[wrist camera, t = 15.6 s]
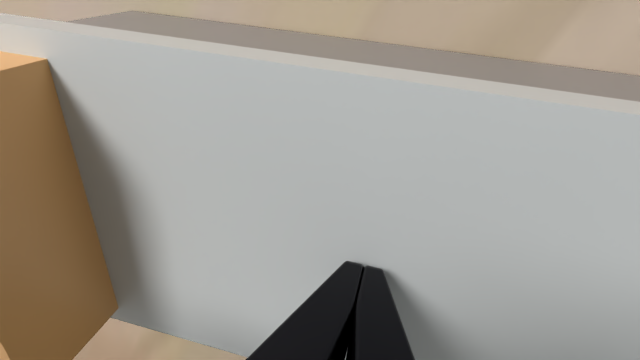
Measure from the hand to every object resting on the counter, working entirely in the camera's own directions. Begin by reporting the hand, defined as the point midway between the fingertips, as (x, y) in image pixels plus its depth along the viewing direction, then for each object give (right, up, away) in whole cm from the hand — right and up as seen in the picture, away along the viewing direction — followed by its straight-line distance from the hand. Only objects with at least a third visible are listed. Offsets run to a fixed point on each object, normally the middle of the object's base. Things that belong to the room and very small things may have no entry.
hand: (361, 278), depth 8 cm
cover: (0, 0, +1) cm, 1 cm away
